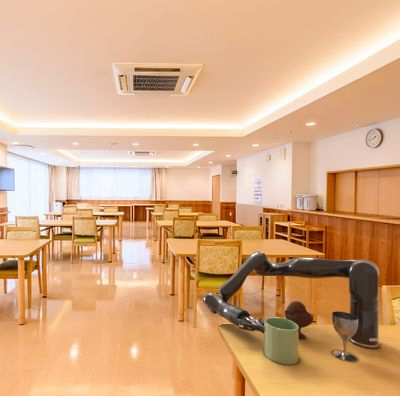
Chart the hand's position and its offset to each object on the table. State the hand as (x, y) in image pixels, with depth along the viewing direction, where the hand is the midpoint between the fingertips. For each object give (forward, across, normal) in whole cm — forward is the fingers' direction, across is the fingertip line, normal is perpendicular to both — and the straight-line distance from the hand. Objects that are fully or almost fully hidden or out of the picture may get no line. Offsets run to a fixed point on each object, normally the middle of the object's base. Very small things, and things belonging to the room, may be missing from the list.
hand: (267, 332), depth 112 cm
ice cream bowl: (-3, -20, -7) cm, 22 cm away
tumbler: (+6, -1, -6) cm, 9 cm away
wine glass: (+15, -22, -7) cm, 28 cm away
